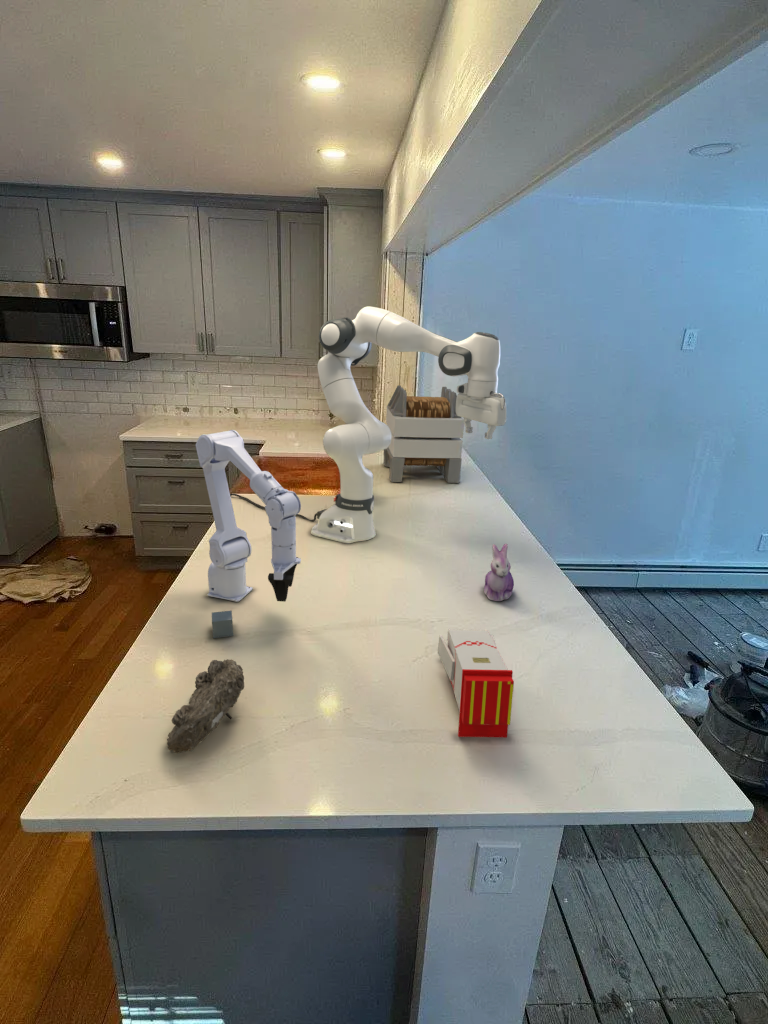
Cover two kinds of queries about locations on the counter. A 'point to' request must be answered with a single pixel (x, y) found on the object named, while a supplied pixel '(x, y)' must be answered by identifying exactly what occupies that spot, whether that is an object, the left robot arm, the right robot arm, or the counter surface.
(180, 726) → the fossil
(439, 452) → the transformer
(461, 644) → the toy
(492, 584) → the figurine
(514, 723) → the counter surface
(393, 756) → the counter surface
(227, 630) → the block
